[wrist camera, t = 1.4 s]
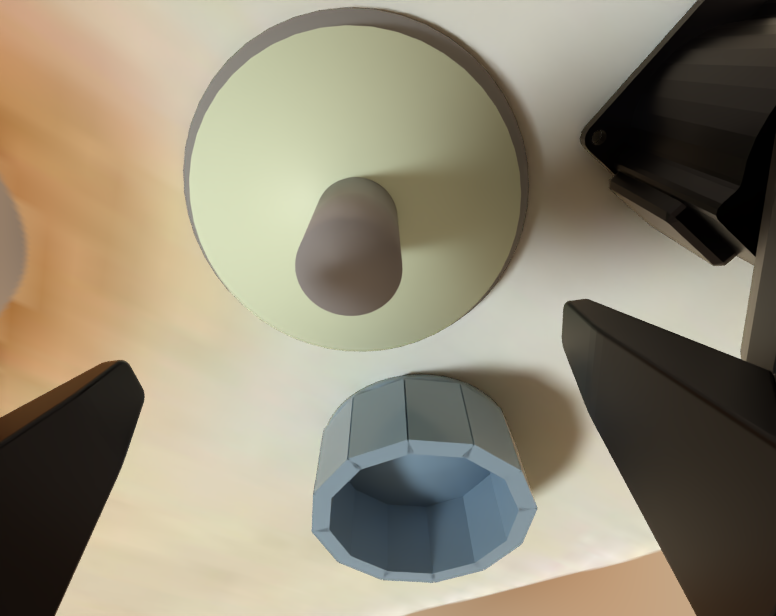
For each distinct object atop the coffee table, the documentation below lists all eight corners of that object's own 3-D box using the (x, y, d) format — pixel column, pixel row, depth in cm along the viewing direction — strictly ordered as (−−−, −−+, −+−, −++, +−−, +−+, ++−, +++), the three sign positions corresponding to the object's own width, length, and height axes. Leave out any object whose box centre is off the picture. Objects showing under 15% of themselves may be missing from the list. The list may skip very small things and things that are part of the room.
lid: (304, -72, 13) (261, -142, 8) (582, 177, 16) (660, 225, 12) (146, 243, 18) (63, 310, 13) (390, 382, 21) (392, 473, 17)
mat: (299, -101, 13) (298, -104, 12) (598, 172, 17) (602, 174, 16) (133, 243, 18) (130, 246, 18) (392, 389, 22) (392, 393, 22)
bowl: (398, 338, 20) (401, 403, 17) (548, 430, 23) (580, 503, 20) (289, 460, 24) (272, 535, 21) (430, 526, 27) (437, 602, 24)
